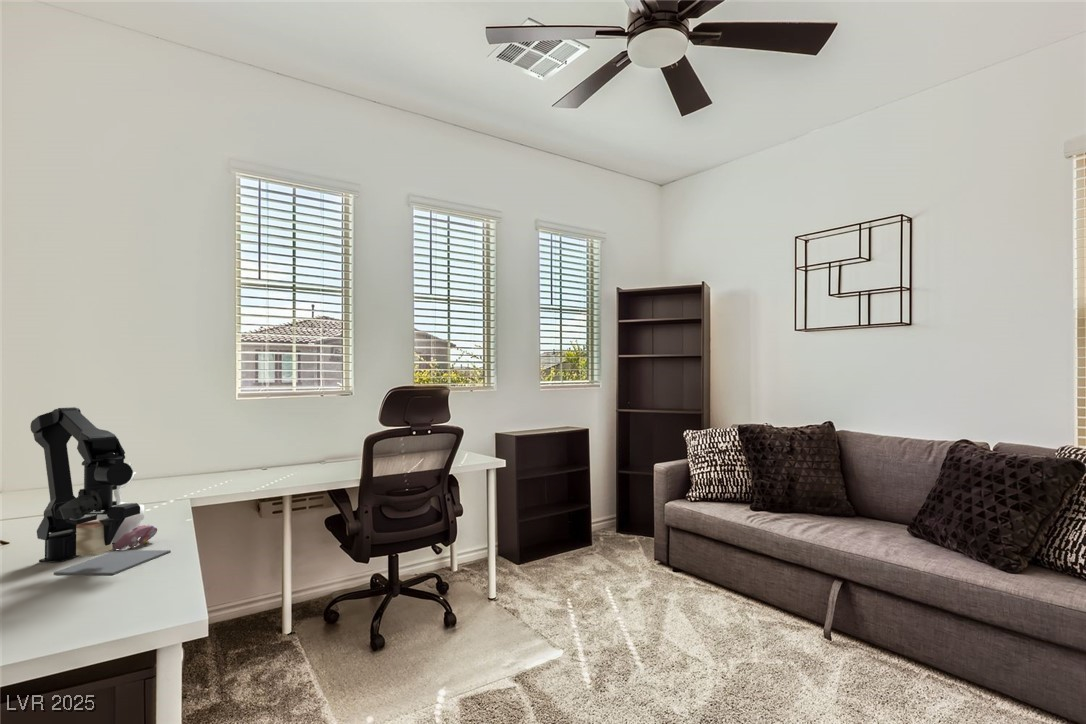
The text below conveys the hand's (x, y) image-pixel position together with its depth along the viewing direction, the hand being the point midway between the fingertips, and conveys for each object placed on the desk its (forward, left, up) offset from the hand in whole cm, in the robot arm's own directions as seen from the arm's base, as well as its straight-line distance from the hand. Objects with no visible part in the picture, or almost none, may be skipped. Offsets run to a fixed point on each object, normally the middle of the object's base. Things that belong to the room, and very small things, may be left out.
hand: (98, 545), depth 139 cm
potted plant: (-16, +24, -6) cm, 29 cm away
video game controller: (-7, +19, -6) cm, 21 cm away
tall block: (0, -1, -2) cm, 2 cm away
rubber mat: (+1, +4, -6) cm, 7 cm away
